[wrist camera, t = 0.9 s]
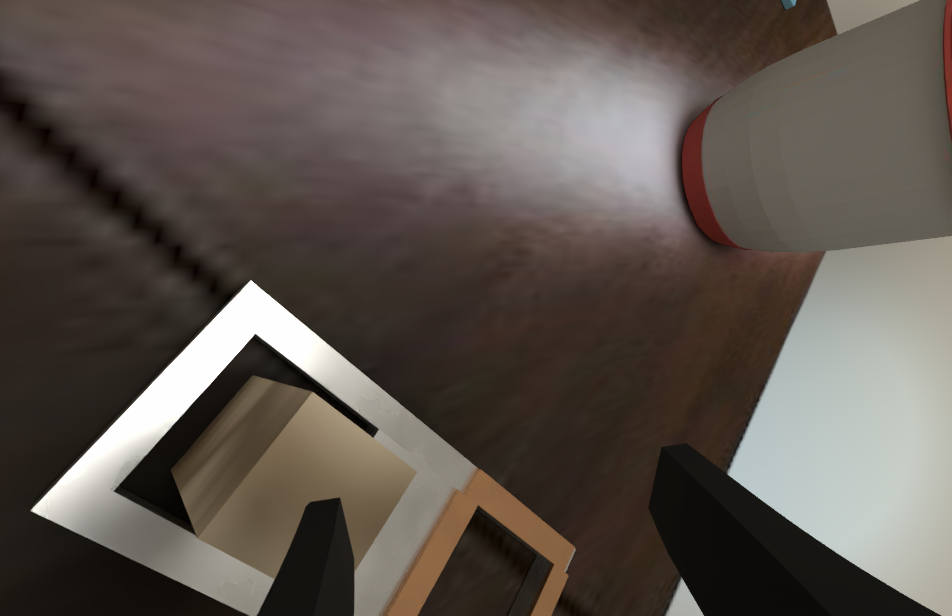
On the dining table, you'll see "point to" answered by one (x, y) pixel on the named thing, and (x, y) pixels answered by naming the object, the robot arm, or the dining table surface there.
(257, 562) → the birch peg
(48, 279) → the dining table surface
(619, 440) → the dining table surface
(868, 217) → the citrus juicer
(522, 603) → the rail
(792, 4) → the chair
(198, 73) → the dining table surface
